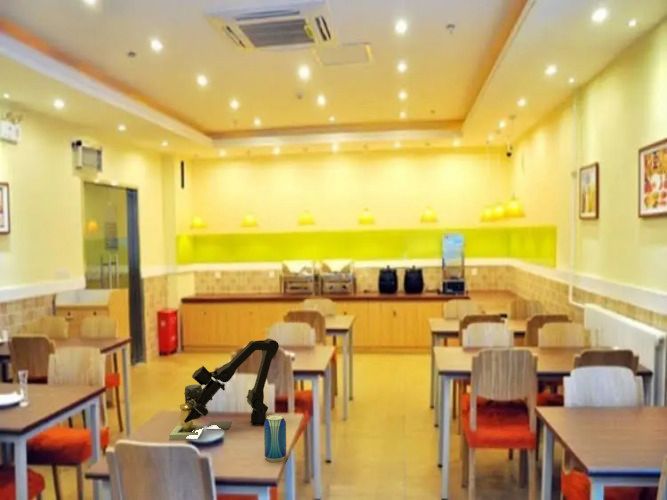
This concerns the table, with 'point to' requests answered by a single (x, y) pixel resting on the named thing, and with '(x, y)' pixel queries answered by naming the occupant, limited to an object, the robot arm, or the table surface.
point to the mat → (221, 424)
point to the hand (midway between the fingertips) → (183, 420)
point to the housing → (179, 435)
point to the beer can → (275, 438)
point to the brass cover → (184, 413)
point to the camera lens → (196, 387)
